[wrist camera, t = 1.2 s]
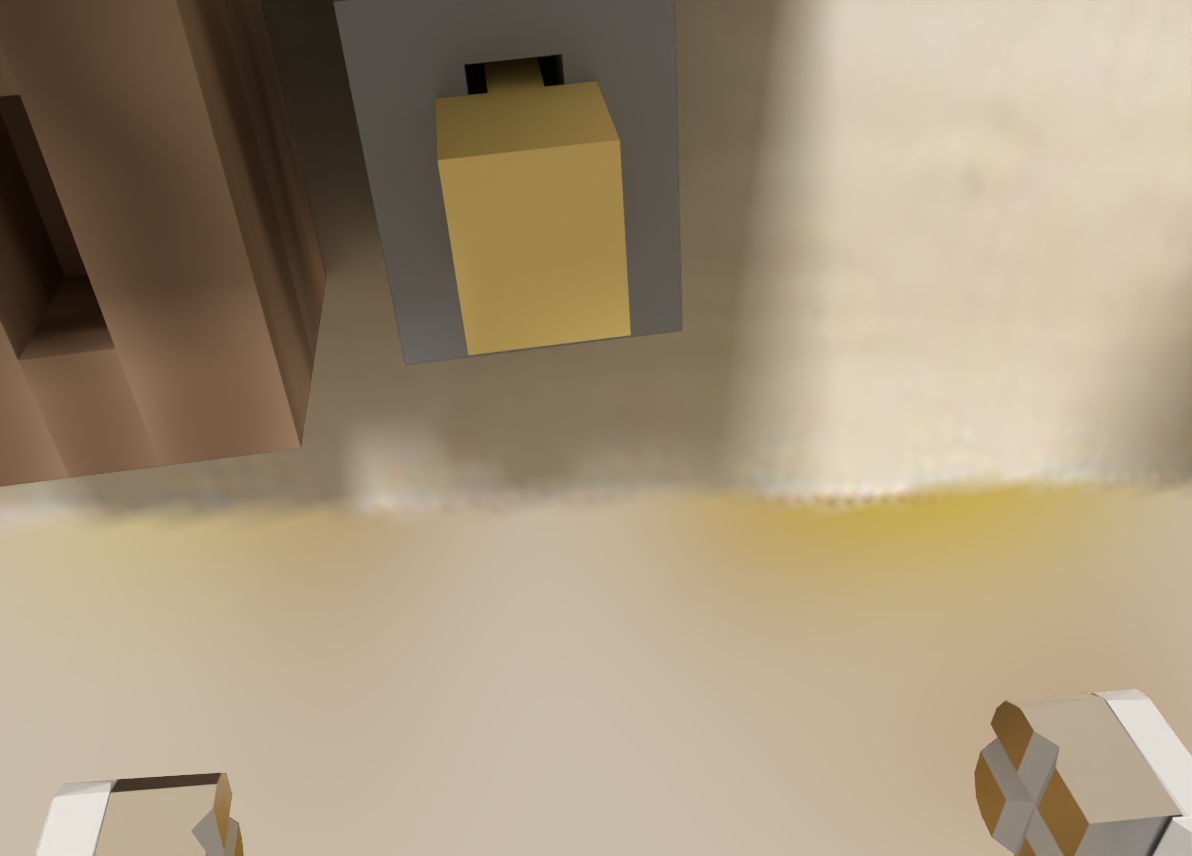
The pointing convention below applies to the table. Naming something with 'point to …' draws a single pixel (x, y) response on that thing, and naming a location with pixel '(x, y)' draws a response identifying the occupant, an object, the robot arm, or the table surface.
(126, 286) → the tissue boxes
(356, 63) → the dark gray slotted block
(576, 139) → the yellow tabbed block
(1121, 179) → the table surface
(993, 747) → the robot arm
